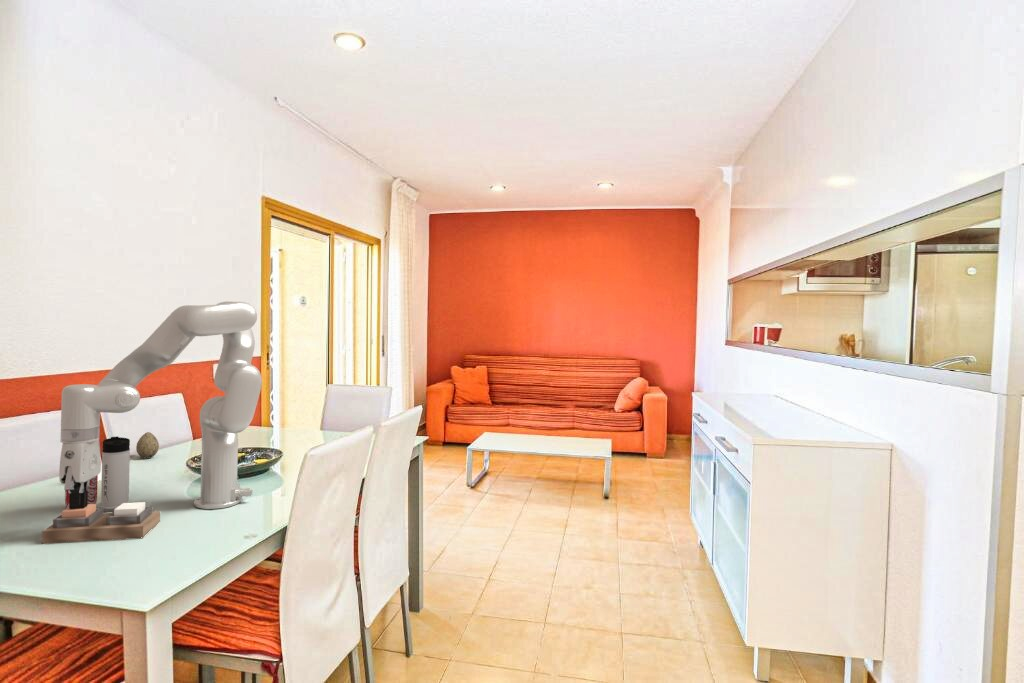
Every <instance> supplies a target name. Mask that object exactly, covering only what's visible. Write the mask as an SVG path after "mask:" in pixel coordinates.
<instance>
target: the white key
mask: <svg viewBox="0 0 1024 683" xmlns="http://www.w3.org/2000/svg"><path fill="white" fill-rule="evenodd" d="M145 506H146V502H145V501H140V502H139V501H137V502H129V503H123V504H121V505H120V506H118V507H117V508H116V509H114V516H127V515H139V514H140V513H141V512H142V511H144V510H145Z"/></svg>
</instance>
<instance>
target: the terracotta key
mask: <svg viewBox="0 0 1024 683" xmlns="http://www.w3.org/2000/svg"><path fill="white" fill-rule="evenodd" d="M96 508H97V503H96V504H88V505H87V506H86V507H85V508H83V509H70V508H65V509H64V510H62V511H61V515H62V518H82V517H88V516H89V515H91V514H92V513H94V512H95V511H96Z"/></svg>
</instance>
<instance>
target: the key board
mask: <svg viewBox="0 0 1024 683" xmlns="http://www.w3.org/2000/svg"><path fill="white" fill-rule="evenodd" d="M159 522H160V523H161V510H154V511H153V505H148V506H147V505H145V510H144V511H142V512H141V513H140V514H139V515H127V516H114V512H112V513H105V512H104V508H101V507H96V511H95V512H94V513H92V514H91V515H89V516H88V517H82V518H62V514H60V515H59V516H57V517H55V518H53V519H52V524H50V525H49V526H48V527H47V528H45V529H43V530H42V531H41V544H44V545H45V544H63V543H79V542H80V543H81V541H83V542H100V541H99V540H102V541H113V540H112V539H121V540H127V539H126V538H139V539H142V538H141V537H144V536H145V535H146V534H147V533H148V532H149V531H150V530H151V529H152V530H154V528H155V527H157V526H158V525H159V524H158V523H159ZM157 524H158V525H157ZM152 530H151V531H152ZM151 531H150V532H151ZM150 532H149V533H150ZM149 533H148V534H149ZM148 534H147V535H148ZM147 535H146V536H147ZM146 536H145V537H146ZM145 537H144V538H145Z"/></svg>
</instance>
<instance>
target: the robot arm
mask: <svg viewBox="0 0 1024 683" xmlns="http://www.w3.org/2000/svg"><path fill="white" fill-rule="evenodd" d="M257 320H258V313H257V311H256V309H255V307H254V306H252V305H251V304H250V303H247V302H246V301H222V302H218V303H217V304H207V305H203V304H202V305H189V304H188V305H187V304H186V305H182V306H179V307H177V308H176V309H175V310H173V311H172V312H171V313H170V314H169V315H168V316H167V317H166V319H165V320H164V321H163V322H161V324H160V325H159V326H158V327H157V328H156V329H155V330H154V331H153V332H152V334H151V335H150V336H149V337H148V338H147V339H145V341H144V342H143V343H142V344H140V345H139V346H138V347H136V348H134V350H132V351H131V353H129V354H128V355H127V356H125V357H124V358H123V359H121V360H120V361H119V362H118V363H117V364H116V365H115V366H114V367H113V368H112V369H111V370H110V371H109V372H108V373H107V374H106V375H105V376H104V377H103V378H102V379H101V380H100V382H98V384H97V385H96V384H88V383H87V384H86V383H83V384H82V383H80V384H79V383H78V384H69V385H67V386H65V387H63V389H62V390H61V403H60V404H61V407H60V408H61V410H60V414H61V415H60V443H62V446H61V452H60V459H59V471H58V473H59V474H58V475H59V482H60V484H64V491H65V490H68V491H69V494H70V495H69V508H70V509H83V508H85V507H86V506H87V505H88V491H86V490H88V489H89V482H90V480H91V479H92V478H93V477H95V476H97V475H98V474H99V473H100V472H101V463H102V454H101V443H100V433H101V432H100V430H101V429H100V427H101V426H100V425H101V424H100V422H101V413H111V414H113V413H114V414H122V413H128V412H130V411H132V410H134V409H136V408H137V406H138V405H139V403H140V401H141V394H140V392H139V390H138V389H137V388H136V387H137V386H138V385H139V384H141V382H142V381H143V380H144V379H145V378H147V377H148V376H149V375H151V374H152V373H154V372H156V371H159V370H161V369H164V368H165V367H168V366H169V365H171V364H172V363H173V362H175V360H176V359H177V358H178V357H179V356H180V354H182V353H183V351H184V350H185V349H186V348H187V347H188V346H189V345H190V343H191V342H193V340H194V339H195V338H196V337H208V336H219V335H222V338H223V339H222V341H223V342H222V343H223V344H222V349H221V352H220V357H219V359H218V364H217V367H216V370H215V373H214V376H213V377H214V378H213V383H214V385H215V387H216V388H217V389H219V390H220V391H222V392H224V396H221V395H220V396H214V397H211V398H209V399H207V400H206V401H205V402H204V403H203V404H202V406H201V408H200V411H199V424H200V425H199V426H200V432H201V433H200V434H201V461H200V462H201V465H200V493H199V494H200V496H199V497H197V498H195V500H193V504H194V507H196V508H198V509H202V510H203V509H204V510H205V509H206V510H211V509H212V510H217V509H224V508H229V507H233V506H235V505H238V504H240V503H241V502H242V501H243V497H252V496H253V489H250V487H249V488H247V487H246V488H242V487H241V486H240V485H241V484H240V483H238V461H239V460H238V458H239V437H238V436H239V435H238V433H242V432H244V431H245V430H246V429H247V428H248V427H249V426H250V424H251V422H252V421H253V419H254V416H255V412H256V409H257V405H258V402H259V397H260V394H261V389H262V384H263V377H262V374H261V372H260V370H259V369H258V368H257V366H254V365H253V364H252V360H253V356H254V351H255V347H256V346H255V344H256V343H255V342H256V341H255V336H254V332H253V330H252V328H253V327H254V326H255V324H256V323H257Z"/></svg>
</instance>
